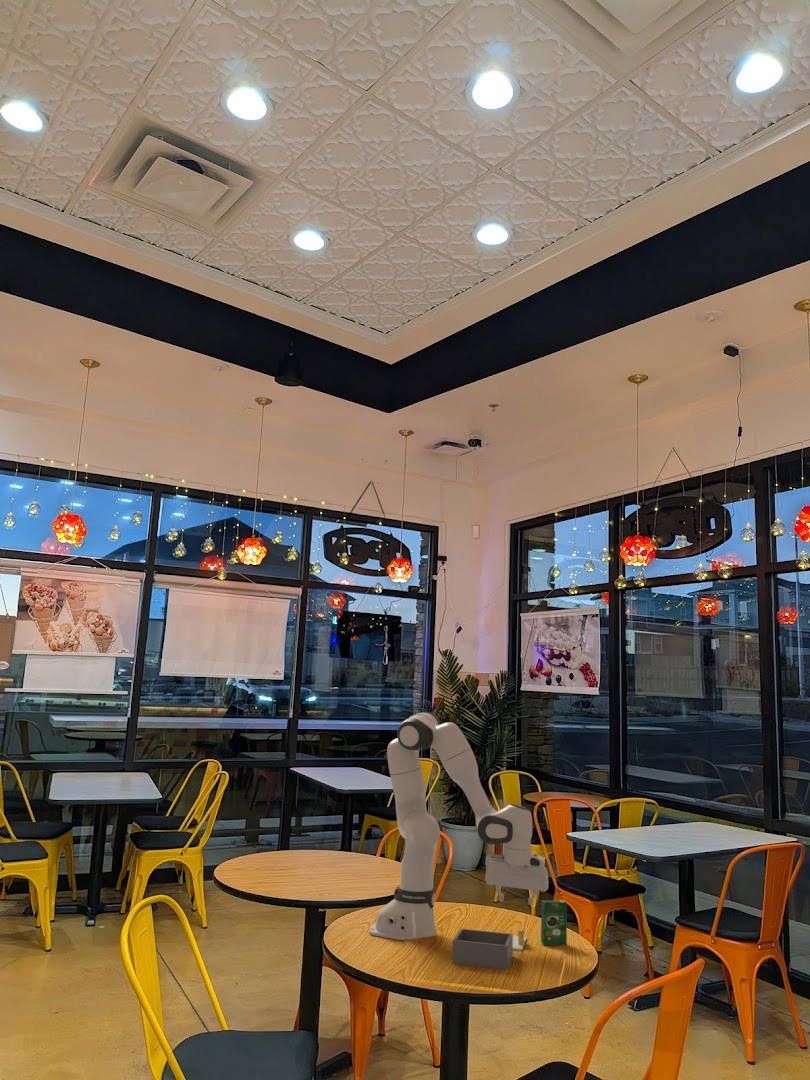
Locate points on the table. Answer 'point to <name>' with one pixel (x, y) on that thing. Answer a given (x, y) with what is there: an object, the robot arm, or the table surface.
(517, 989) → the table surface
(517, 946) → the lid
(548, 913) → the coffee box
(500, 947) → the tub
